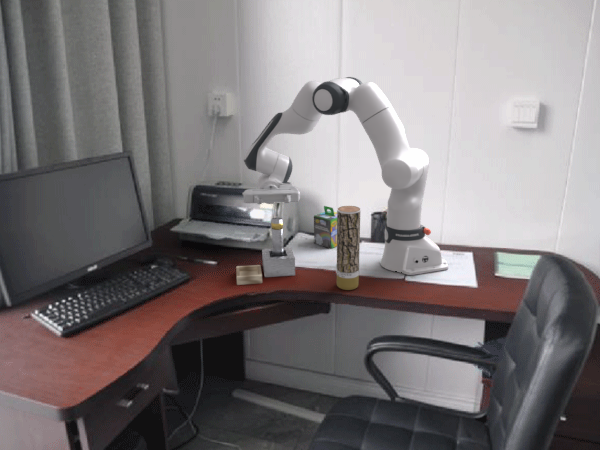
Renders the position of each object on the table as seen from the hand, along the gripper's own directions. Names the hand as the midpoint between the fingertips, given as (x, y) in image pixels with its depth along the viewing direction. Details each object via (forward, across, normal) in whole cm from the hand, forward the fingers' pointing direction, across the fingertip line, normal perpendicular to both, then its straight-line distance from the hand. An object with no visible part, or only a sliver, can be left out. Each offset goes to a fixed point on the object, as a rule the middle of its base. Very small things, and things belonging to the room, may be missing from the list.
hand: (273, 201), depth 173 cm
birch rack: (+17, -10, +21) cm, 29 cm away
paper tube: (+28, +20, +20) cm, 40 cm away
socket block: (+12, 0, +20) cm, 24 cm away
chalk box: (-11, +22, +21) cm, 32 cm away
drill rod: (+12, 0, +20) cm, 24 cm away
